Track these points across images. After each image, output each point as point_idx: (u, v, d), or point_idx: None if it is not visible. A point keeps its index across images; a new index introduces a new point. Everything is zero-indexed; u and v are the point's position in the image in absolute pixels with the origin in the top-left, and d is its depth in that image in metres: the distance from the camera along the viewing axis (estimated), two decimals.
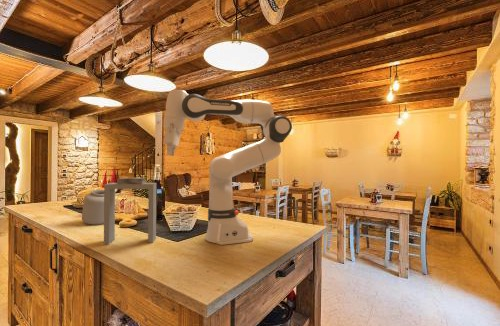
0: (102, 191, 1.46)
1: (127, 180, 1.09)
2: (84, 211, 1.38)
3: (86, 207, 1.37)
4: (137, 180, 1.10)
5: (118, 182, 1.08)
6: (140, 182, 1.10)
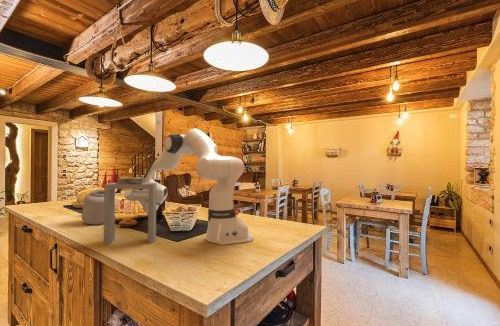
0: (102, 191, 1.46)
1: (127, 180, 1.09)
2: (84, 211, 1.38)
3: (86, 207, 1.37)
4: (137, 180, 1.10)
5: (118, 182, 1.08)
6: (140, 182, 1.10)
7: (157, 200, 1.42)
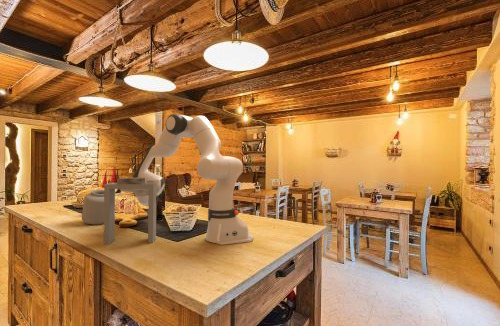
0: (102, 191, 1.46)
1: (127, 180, 1.09)
2: (84, 211, 1.38)
3: (86, 207, 1.37)
4: (137, 180, 1.10)
5: (118, 182, 1.08)
6: (140, 182, 1.10)
7: None
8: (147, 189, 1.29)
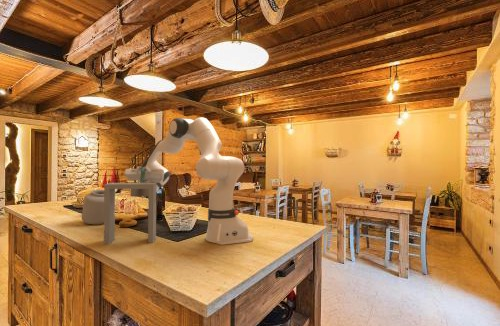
0: (102, 191, 1.46)
1: None
2: (84, 211, 1.38)
3: (86, 207, 1.37)
4: (147, 195, 1.31)
5: None
6: None
7: (157, 179, 1.41)
8: (151, 177, 1.40)
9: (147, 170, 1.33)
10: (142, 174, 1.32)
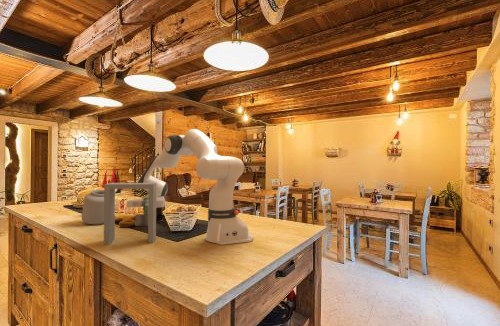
0: (102, 191, 1.46)
1: None
2: (84, 211, 1.38)
3: (86, 207, 1.37)
4: None
5: None
6: None
7: None
8: None
9: None
10: None
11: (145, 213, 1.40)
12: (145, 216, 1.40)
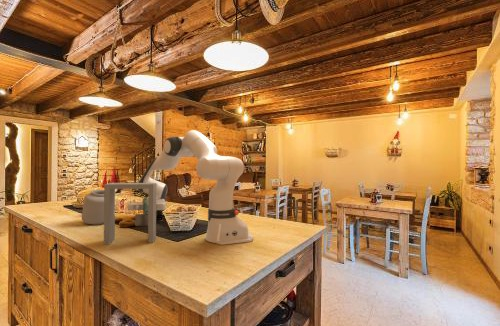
0: (102, 191, 1.46)
1: None
2: (84, 211, 1.38)
3: (86, 207, 1.37)
4: None
5: None
6: None
7: None
8: None
9: None
10: (144, 205, 1.39)
11: (145, 213, 1.39)
12: (145, 216, 1.39)
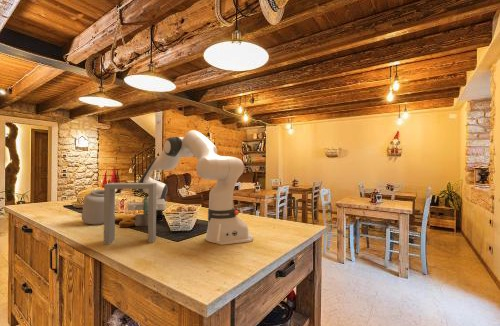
0: (102, 191, 1.46)
1: None
2: (84, 211, 1.38)
3: (86, 207, 1.37)
4: None
5: None
6: None
7: None
8: None
9: None
10: (145, 205, 1.40)
11: (145, 213, 1.40)
12: (145, 216, 1.40)
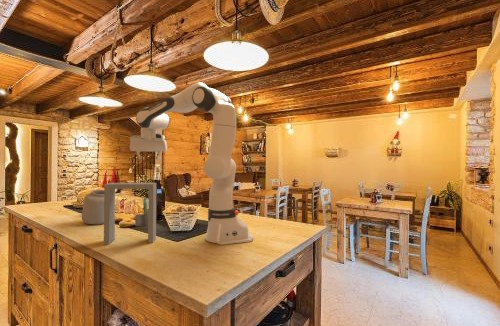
0: (102, 191, 1.46)
1: None
2: (84, 211, 1.38)
3: (86, 207, 1.37)
4: None
5: None
6: None
7: None
8: None
9: (158, 156, 1.48)
10: (145, 205, 1.40)
11: (145, 213, 1.40)
12: (145, 216, 1.40)
